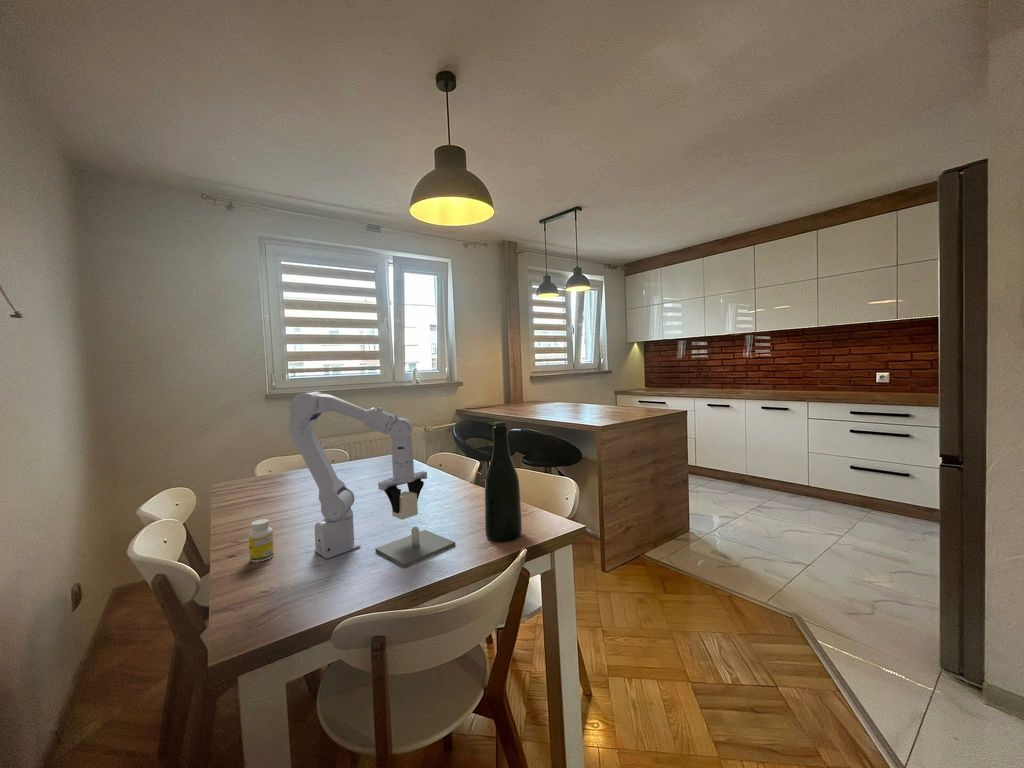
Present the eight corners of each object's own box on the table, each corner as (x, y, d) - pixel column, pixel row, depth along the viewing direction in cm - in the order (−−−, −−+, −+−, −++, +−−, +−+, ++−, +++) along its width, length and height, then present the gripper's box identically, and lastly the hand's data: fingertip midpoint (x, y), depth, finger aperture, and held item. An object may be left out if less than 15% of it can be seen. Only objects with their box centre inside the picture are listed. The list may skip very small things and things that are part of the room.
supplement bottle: (252, 555, 108) (251, 519, 108) (275, 552, 110) (274, 516, 110) (247, 564, 103) (245, 526, 103) (271, 560, 105) (269, 523, 105)
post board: (404, 567, 98) (403, 543, 98) (375, 552, 108) (374, 530, 107) (455, 545, 110) (454, 524, 110) (425, 533, 119) (424, 513, 119)
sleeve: (402, 519, 109) (401, 497, 109) (392, 515, 113) (391, 494, 112) (417, 514, 113) (416, 493, 113) (407, 510, 116) (406, 490, 116)
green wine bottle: (528, 538, 114) (525, 422, 113) (495, 546, 108) (491, 425, 107) (510, 526, 123) (507, 418, 122) (479, 534, 118) (475, 421, 117)
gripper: (387, 468, 104) (389, 520, 104) (432, 458, 115) (434, 505, 115) (373, 465, 109) (375, 514, 109) (418, 455, 120) (420, 500, 120)
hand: (405, 509), depth 113 cm, fingers closed on sleeve, 5 cm apart
